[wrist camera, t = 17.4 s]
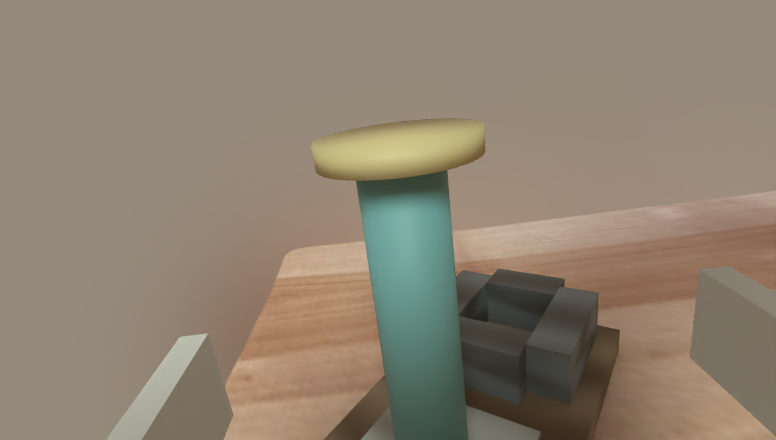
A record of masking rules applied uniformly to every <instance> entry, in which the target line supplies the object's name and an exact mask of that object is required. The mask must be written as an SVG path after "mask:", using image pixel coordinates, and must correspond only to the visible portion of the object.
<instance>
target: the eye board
mask: <svg viewBox="0 0 776 440" xmlns="http://www.w3.org/2000/svg"><path fill="white" fill-rule="evenodd" d="M456 288H457V300H458V313H459V326H460V338H461V351H462V364H463V376H464V389H465V402H466V414H467V427H468V440H592V439H593V435H594V432H595V428H596V425H597V422H598V418H599V415H600V411H601V408H602V405H603V401H604V398H605V394H606V391H607V388H608V384H609V381H610V378H611V374H612V371H613V367H614V364H615V361H616V357H617V354H618V350H619V334H620V330H617V329H612V328H608V327H603V326H598V325H597V318H598V293H595V292H589V291H583V290H577V289H571V288H565V287H564V279H561V278H555V277H549V276H542V275H536V274H529V273H523V272H516V271H510V270H504V269H498V270H497V271H496V272H495V273H494V274H493V275H487V274H481V273H475V272H469V271H462V272H461V273H460V274H459V275H458V276H457V277H456ZM324 440H395V439H394V432H393V426H392V419H391V412H390V406H389V399H388V392H387V385H386V379H385V375H384V376H383V378H382V379H381V380H380V381H379V382H378V383H377V384H376V385H375V386H374V387H373V388H372V389H371V390H370V391H369V392H368V393H367V394H366V396H365V397H364V398H363V399H362V400H361V401H360V402H359V403H358V404H357V405H356V406H355V407H354V408H353V409H352V410H351V411H350V413H349V414H348V415H347V416H346V417H345V418H344V419H343V420H342V421H341V422H340V423H339V424H338V425H337V426H336V427H335V428H334V429H333V431H332V432H331V433H330V434H329V435H328V436H327V437H326V438H325V439H324Z"/></svg>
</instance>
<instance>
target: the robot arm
mask: <svg viewBox="0 0 776 440" xmlns="http://www.w3.org/2000/svg"><path fill="white" fill-rule="evenodd" d="M690 358H691V359H693V360H694V361H695V362H696V363H697V364H698V365H699V366H700V367H701V368H702V369H703V370H704V371H706V372H707V373H708V374H709V375H710V376H711V377H712V378H713V379H714V380H715V381H716V382H717V383H719V384H720V385H721V386H722V387H723V388H724V389H725V390H726V391H727V392H728V393H729V394H730V395H731V396H733V397H734V398H735V399H736V400H737V401H738V402H739V403H740V404H741V405H742V406H743V407H744V408H746V409H747V410H748V411H749V412H750V413H751V414H752V415H753V416H754V417H755V418H756V419H757V420H759V421H760V422H761V423H762V424H763V425H764V426H765V427H766V428H767V429H768V430H769V431H770V432H772V433H773V434H774V435H775V436H776V292H775V291H773V290H771V289H769V288H767V287H766V286H764V285H762V284H760V283H759V282H757V281H755V280H753V279H751V278H750V277H748V276H746V275H744V274H743V273H741V272H739V271H737V270H736V269H734V268H732V267H730V266H722V267H714V268H706V269H699V277H698V286H697V295H696V304H695V314H694V323H693V332H692V341H691V350H690ZM232 417H233V412H232V409H231V406H230V402H229V399H228V396H227V393H226V389H225V386H224V383H223V380H222V377H221V373H220V370H219V367H218V364H217V361H216V358H215V354H214V351H213V348H212V344H211V341H210V338H209V334H208V333H207V334H201V335H192V336H184V337H180V338H179V339H178V341H177V342H176V343H175V345H174V346H173V348H172V349H171V351H170V352H169V353H168V355H167V356H166V357H165V359H164V360H163V361H162V363H161V364H160V366H159V367H158V368H157V370H156V371H155V373H154V374H153V375H152V377H151V378H150V380H149V381H148V382H147V384H146V385H145V387H144V388H143V389H142V391H141V392H140V394H139V395H138V396H137V398H136V399H135V400H134V402H133V403H132V405H131V406H130V407H129V409H128V410H127V411H126V413H125V414H124V416H123V417H122V418H121V420H120V421H119V423H118V424H117V425H116V427H115V428H114V430H113V431H112V432H111V434H110V435H109V436H108V438H107V439H106V440H223V439H224V437H225V434H226V432H227V429H228V427H229V424H230V422H231V419H232Z"/></svg>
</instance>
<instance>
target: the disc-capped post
mask: <svg viewBox="0 0 776 440" xmlns="http://www.w3.org/2000/svg"><path fill="white" fill-rule="evenodd" d="M311 148H312V154H313V159H314V165H315V170H316V173H317V174H318V175H320V176H323V177H326V178H330V179H337V180H353V181H356V183H357V190H358V197H359V204H360V210H361V217H362V224H363V231H364V237H365V244H366V251H367V257H368V264H369V271H370V278H371V284H372V291H373V298H374V305H375V311H376V318H377V325H378V331H379V338H380V345H381V352H382V358H383V365H384V372H385V379H386V385H387V392H388V399H389V406H390V412H391V419H392V426H393V432H394V439H395V440H468V427H467V414H466V402H465V389H464V376H463V364H462V351H461V338H460V326H459V313H458V300H457V288H456V275H455V262H454V250H453V237H452V225H451V212H450V200H449V188H448V187H449V186H448V174H447V170H449V169H452V168H456V167H459V166H462V165H465V164H468V163H471V162H473V161H475V160H477V159H479V158H480V157H482V156H483V155H484V154H485V133H484V123H482V122H481V121H477V120H472V119H456V118H453V119H452V118H448V119H425V120H412V121H403V122H394V123H387V124H380V125H374V126H367V127H362V128H357V129H352V130H347V131H343V132H339V133H335V134H331V135H328V136H325V137H322V138H320V139H318V140H316V141H314V142H313V143H312V144H311Z"/></svg>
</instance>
